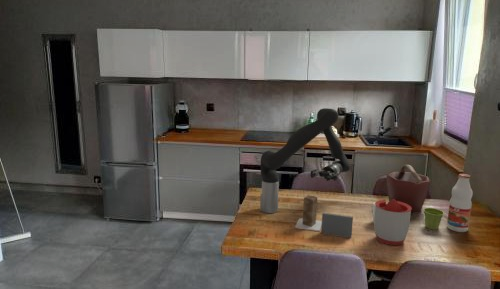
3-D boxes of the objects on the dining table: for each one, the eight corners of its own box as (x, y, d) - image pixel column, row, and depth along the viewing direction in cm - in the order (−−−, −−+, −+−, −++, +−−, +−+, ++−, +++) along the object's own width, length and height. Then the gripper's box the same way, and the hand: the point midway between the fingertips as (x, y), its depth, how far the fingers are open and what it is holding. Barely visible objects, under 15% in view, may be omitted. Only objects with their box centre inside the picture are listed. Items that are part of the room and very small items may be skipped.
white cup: (388, 226, 186) (390, 207, 184) (372, 224, 188) (374, 206, 186) (386, 220, 194) (388, 202, 192) (370, 219, 195) (372, 201, 193)
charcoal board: (321, 233, 176) (322, 213, 175) (321, 232, 178) (322, 212, 176) (351, 237, 172) (352, 217, 170) (351, 236, 174) (353, 216, 172)
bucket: (427, 218, 197) (432, 173, 193) (383, 212, 205) (388, 168, 200) (423, 203, 220) (428, 162, 215) (384, 198, 227) (387, 159, 223)
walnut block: (302, 224, 185) (303, 197, 182) (306, 221, 189) (308, 195, 186) (311, 226, 182) (313, 199, 180) (315, 223, 187) (317, 197, 184)
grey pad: (295, 227, 182) (295, 226, 182) (299, 218, 193) (299, 217, 193) (319, 231, 178) (319, 230, 178) (322, 222, 190) (322, 221, 190)
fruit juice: (471, 229, 184) (479, 175, 179) (462, 234, 179) (470, 178, 173) (451, 223, 191) (458, 171, 186) (443, 227, 186) (450, 174, 180)
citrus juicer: (404, 233, 178) (408, 194, 174) (411, 249, 162) (415, 206, 158) (370, 229, 182) (373, 191, 178) (373, 245, 165) (377, 203, 161)
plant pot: (440, 225, 189) (442, 209, 187) (443, 232, 180) (445, 215, 178) (420, 222, 192) (422, 206, 190) (422, 229, 183) (424, 213, 181)
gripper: (319, 162, 207) (307, 168, 193) (343, 167, 199) (333, 173, 186) (318, 175, 208) (306, 181, 195) (342, 180, 201) (331, 187, 187)
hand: (319, 177), depth 190 cm, fingers open, 8 cm apart
